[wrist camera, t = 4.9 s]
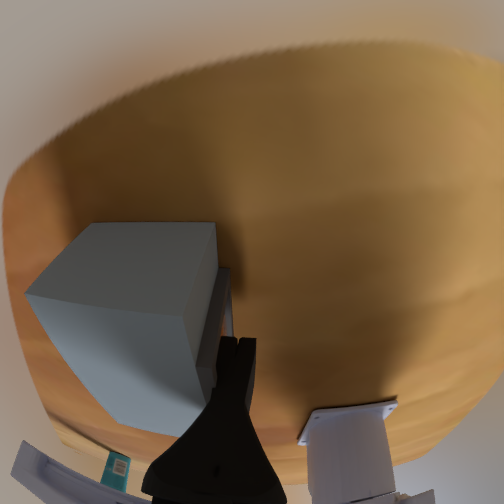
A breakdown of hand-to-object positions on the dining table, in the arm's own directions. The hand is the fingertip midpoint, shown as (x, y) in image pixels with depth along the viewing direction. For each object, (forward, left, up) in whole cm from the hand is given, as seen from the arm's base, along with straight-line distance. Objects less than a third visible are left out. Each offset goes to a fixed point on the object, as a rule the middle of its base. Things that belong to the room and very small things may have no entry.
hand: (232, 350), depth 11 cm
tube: (-49, +27, -3) cm, 56 cm away
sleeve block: (0, +4, -2) cm, 4 cm away
